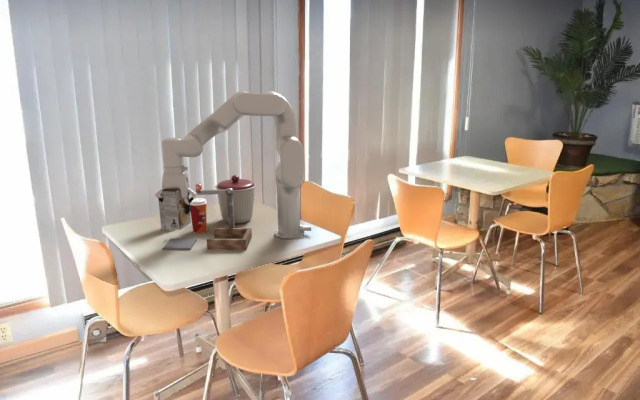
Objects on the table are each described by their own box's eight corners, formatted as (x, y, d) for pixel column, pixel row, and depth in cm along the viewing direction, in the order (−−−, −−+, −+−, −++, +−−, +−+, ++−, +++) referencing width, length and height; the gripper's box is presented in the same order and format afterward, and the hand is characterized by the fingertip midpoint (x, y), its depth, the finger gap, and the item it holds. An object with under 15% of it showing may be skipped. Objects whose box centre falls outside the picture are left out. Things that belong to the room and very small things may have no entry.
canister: (265, 219, 260) (263, 174, 254) (235, 229, 247) (232, 182, 241) (239, 212, 272) (237, 168, 266) (209, 221, 259) (206, 176, 253)
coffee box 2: (177, 221, 232) (174, 183, 228) (191, 223, 230) (188, 184, 226) (165, 229, 224) (161, 189, 219) (179, 230, 222) (176, 190, 217)
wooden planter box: (253, 234, 241) (251, 193, 236) (246, 249, 223) (244, 205, 218) (216, 234, 241) (213, 193, 236) (207, 249, 224) (204, 205, 219)
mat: (197, 240, 234) (196, 238, 234) (190, 249, 224) (190, 247, 223) (170, 240, 235) (170, 238, 234) (162, 249, 224) (162, 247, 224)
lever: (233, 192, 236) (233, 182, 234) (233, 194, 233) (232, 184, 232) (196, 194, 234) (195, 183, 233) (195, 195, 231) (195, 185, 230)
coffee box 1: (174, 223, 256) (171, 188, 251) (185, 225, 253) (183, 190, 249) (160, 229, 248) (157, 193, 244) (171, 231, 245) (168, 195, 241)
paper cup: (204, 234, 241) (202, 202, 237) (187, 233, 242) (185, 202, 239) (211, 228, 248) (209, 197, 244) (195, 227, 250) (193, 197, 246)
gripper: (198, 167, 224) (201, 210, 229) (154, 167, 225) (158, 210, 229) (194, 172, 217) (197, 216, 222) (148, 172, 217) (152, 216, 222)
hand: (177, 213), depth 225 cm, fingers closed on coffee box 2, 7 cm apart
